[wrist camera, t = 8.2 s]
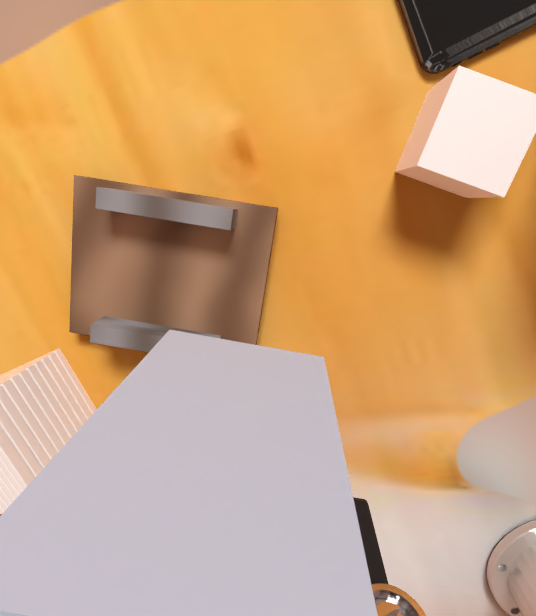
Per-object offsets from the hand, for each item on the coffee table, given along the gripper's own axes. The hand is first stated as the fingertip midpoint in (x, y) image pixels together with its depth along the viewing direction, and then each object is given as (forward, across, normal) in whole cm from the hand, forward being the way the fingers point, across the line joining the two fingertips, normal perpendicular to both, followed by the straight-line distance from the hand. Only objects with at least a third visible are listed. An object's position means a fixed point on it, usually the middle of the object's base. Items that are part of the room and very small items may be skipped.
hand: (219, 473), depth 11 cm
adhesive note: (+24, -12, -13) cm, 30 cm away
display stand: (+24, +8, 0) cm, 25 cm away
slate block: (+3, 0, 0) cm, 3 cm away
